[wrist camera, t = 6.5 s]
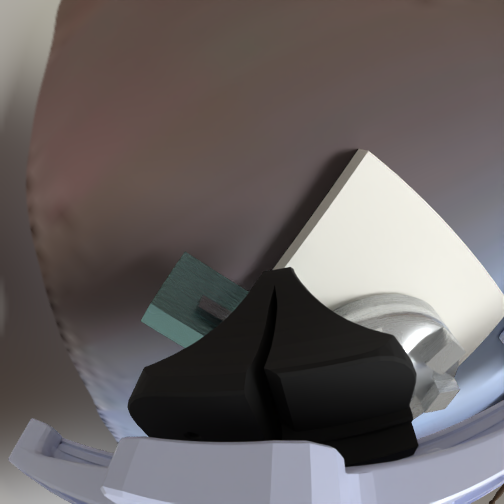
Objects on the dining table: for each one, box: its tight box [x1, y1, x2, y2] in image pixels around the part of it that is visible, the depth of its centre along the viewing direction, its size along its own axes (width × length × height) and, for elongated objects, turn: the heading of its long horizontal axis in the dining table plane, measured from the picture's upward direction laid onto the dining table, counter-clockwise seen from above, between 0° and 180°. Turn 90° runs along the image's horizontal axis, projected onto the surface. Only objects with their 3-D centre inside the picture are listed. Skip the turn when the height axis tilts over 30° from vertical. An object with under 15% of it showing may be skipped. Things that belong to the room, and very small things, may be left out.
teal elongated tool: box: [141, 252, 466, 419], centre depth 13 cm, size 18×11×5 cm, turn 55°
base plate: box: [273, 149, 504, 365], centre depth 17 cm, size 17×19×2 cm
